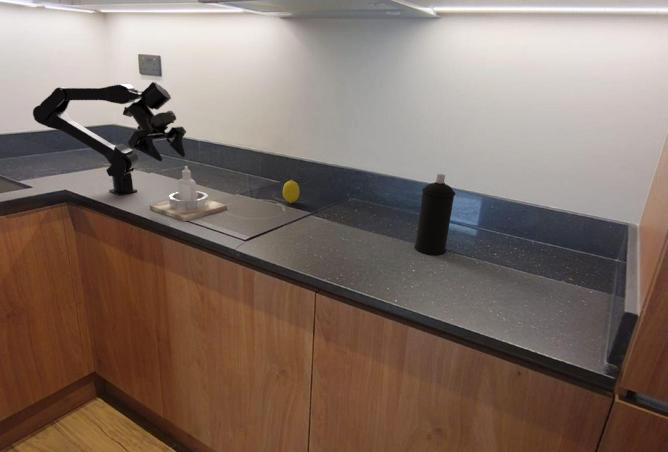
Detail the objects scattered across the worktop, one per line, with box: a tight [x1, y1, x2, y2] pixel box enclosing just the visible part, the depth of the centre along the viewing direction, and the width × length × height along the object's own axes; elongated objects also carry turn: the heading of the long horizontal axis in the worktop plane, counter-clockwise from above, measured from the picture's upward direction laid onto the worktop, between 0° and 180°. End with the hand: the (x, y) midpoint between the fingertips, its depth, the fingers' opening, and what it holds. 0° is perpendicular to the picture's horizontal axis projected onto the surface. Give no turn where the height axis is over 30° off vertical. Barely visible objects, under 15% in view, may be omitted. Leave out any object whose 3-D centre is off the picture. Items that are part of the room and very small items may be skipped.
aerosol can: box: [414, 173, 456, 256], centre depth 108 cm, size 8×8×20 cm
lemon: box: [282, 179, 300, 204], centre depth 141 cm, size 6×6×8 cm
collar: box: [168, 190, 209, 211], centre depth 129 cm, size 11×11×3 cm
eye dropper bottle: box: [177, 165, 197, 200], centre depth 128 cm, size 4×6×12 cm
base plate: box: [149, 199, 228, 222], centre depth 130 cm, size 16×16×1 cm
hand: (173, 158), depth 134 cm, fingers open, 9 cm apart
